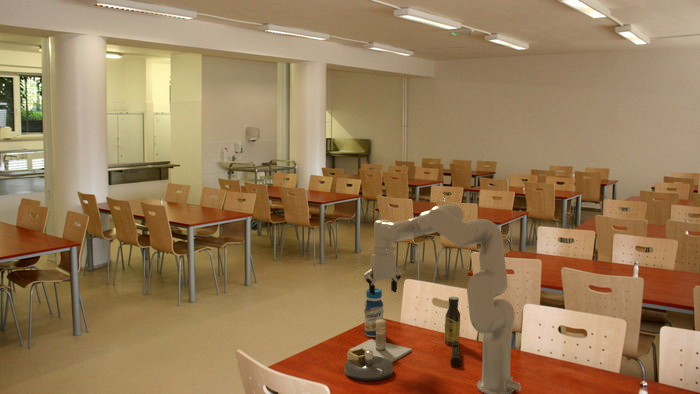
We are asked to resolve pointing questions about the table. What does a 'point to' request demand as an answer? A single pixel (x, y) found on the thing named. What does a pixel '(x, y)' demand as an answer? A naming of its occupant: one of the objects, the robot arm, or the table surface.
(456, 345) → the hand tool
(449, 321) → the sauce bottle
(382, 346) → the beige rounded cylinder
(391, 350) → the mat
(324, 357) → the table surface
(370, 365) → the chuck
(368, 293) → the beverage bottle
